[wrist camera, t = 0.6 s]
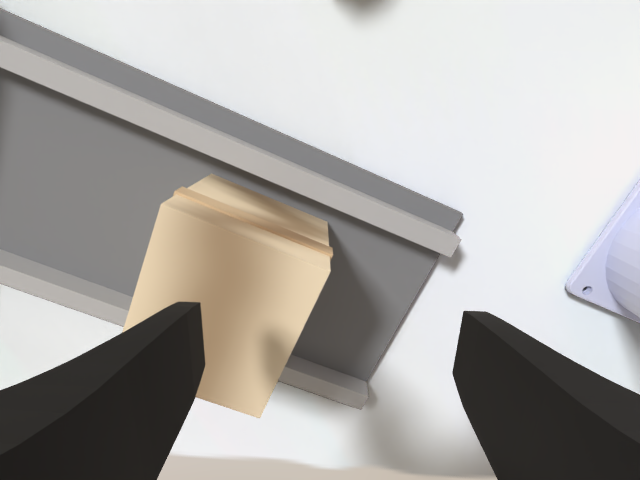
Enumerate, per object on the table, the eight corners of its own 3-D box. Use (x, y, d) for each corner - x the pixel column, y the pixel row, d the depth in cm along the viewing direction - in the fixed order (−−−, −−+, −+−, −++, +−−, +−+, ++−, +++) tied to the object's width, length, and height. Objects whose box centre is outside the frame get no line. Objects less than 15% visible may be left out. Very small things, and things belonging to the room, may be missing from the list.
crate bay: (460, 212, 19) (472, 220, 17) (351, 401, 23) (353, 422, 21) (-36, -8, 16) (-74, -20, 14) (-64, 256, 20) (-95, 268, 18)
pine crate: (330, 220, 19) (334, 269, 13) (277, 335, 21) (261, 421, 15) (210, 170, 18) (158, 199, 12) (168, 295, 20) (108, 370, 14)
